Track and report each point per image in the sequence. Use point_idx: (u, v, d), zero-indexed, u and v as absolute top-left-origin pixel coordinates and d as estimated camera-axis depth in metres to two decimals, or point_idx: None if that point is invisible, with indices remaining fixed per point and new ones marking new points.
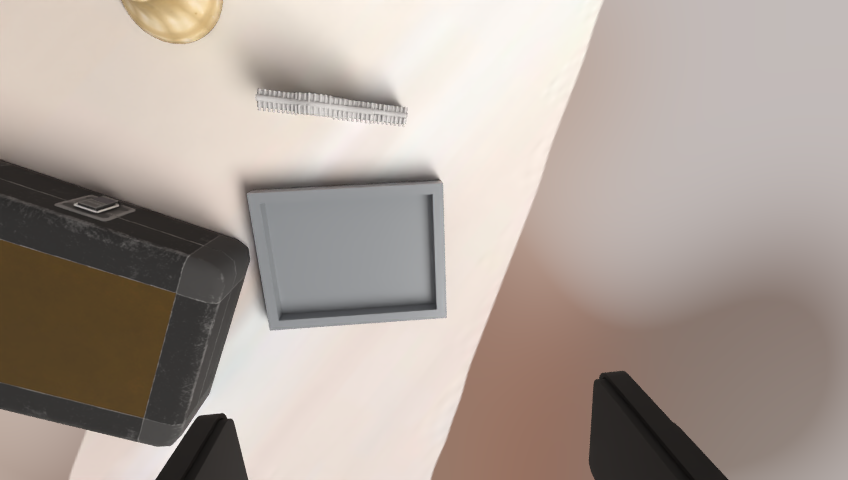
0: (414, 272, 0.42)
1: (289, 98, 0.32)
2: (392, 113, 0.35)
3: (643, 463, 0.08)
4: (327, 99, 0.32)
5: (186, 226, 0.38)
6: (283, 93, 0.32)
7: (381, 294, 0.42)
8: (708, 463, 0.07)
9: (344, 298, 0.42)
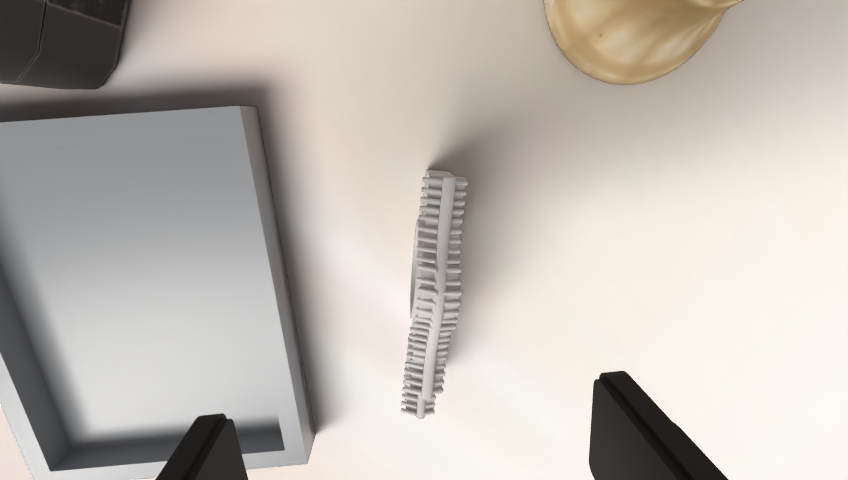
0: (130, 413, 0.22)
1: (448, 246, 0.15)
2: None
3: (643, 463, 0.08)
4: (448, 323, 0.16)
5: None
6: (458, 231, 0.15)
7: (67, 358, 0.20)
8: (708, 463, 0.07)
9: (37, 288, 0.19)
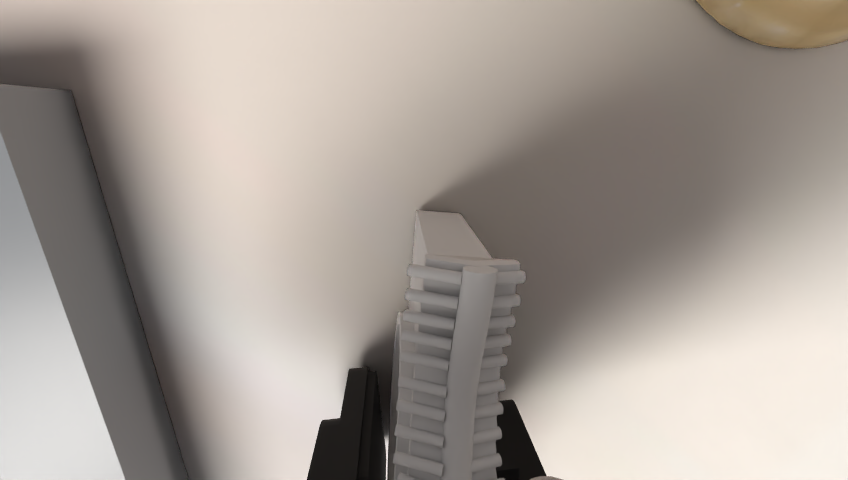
0: None
1: (474, 428, 0.06)
2: None
3: None
4: None
5: None
6: (495, 388, 0.06)
7: None
8: (504, 431, 0.08)
9: None
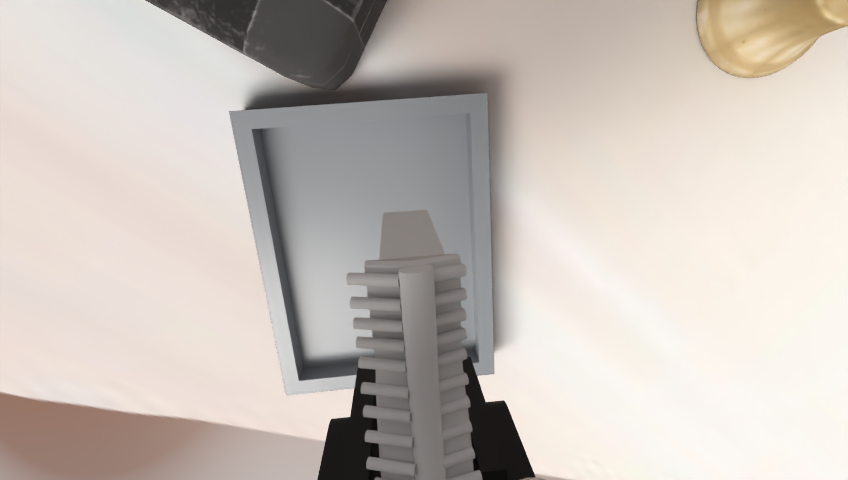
0: (353, 337, 0.27)
1: (441, 425, 0.06)
2: None
3: None
4: None
5: None
6: (459, 382, 0.06)
7: (313, 291, 0.26)
8: (493, 432, 0.08)
9: (300, 235, 0.25)
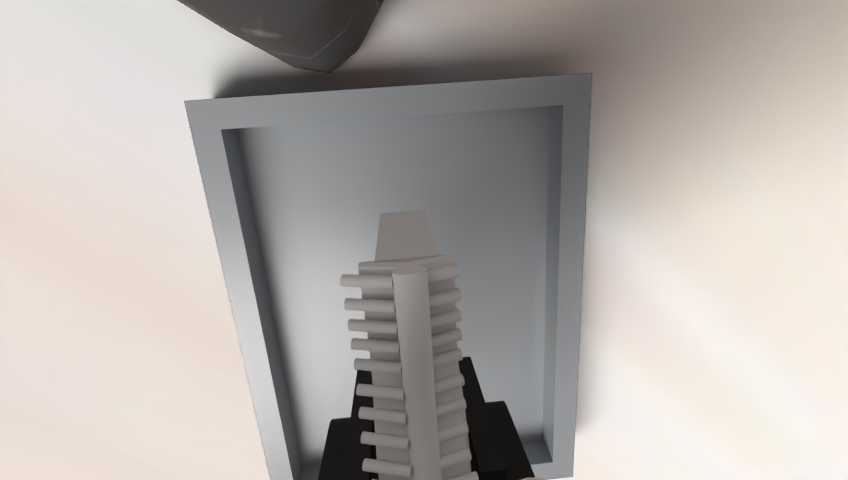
0: None
1: (437, 427, 0.06)
2: None
3: None
4: None
5: None
6: (455, 383, 0.06)
7: (316, 363, 0.18)
8: (493, 432, 0.08)
9: (298, 285, 0.17)
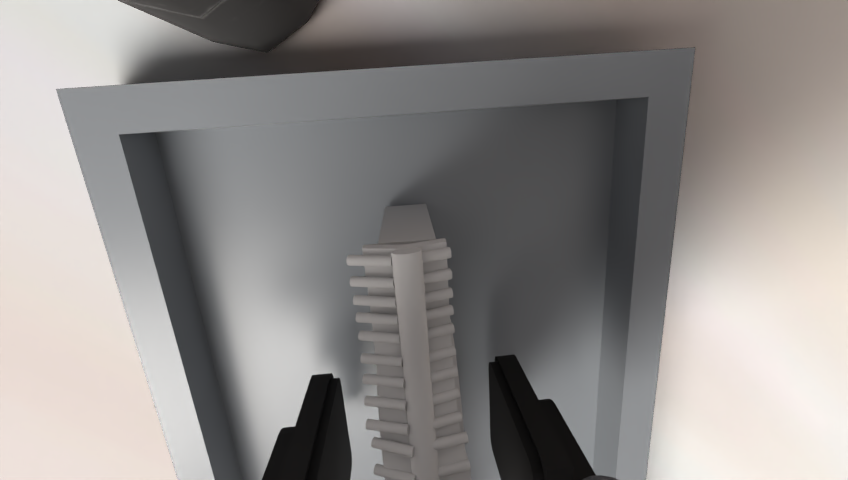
0: None
1: (432, 391, 0.07)
2: None
3: (510, 433, 0.09)
4: None
5: None
6: (447, 353, 0.07)
7: None
8: (552, 430, 0.08)
9: (256, 354, 0.12)
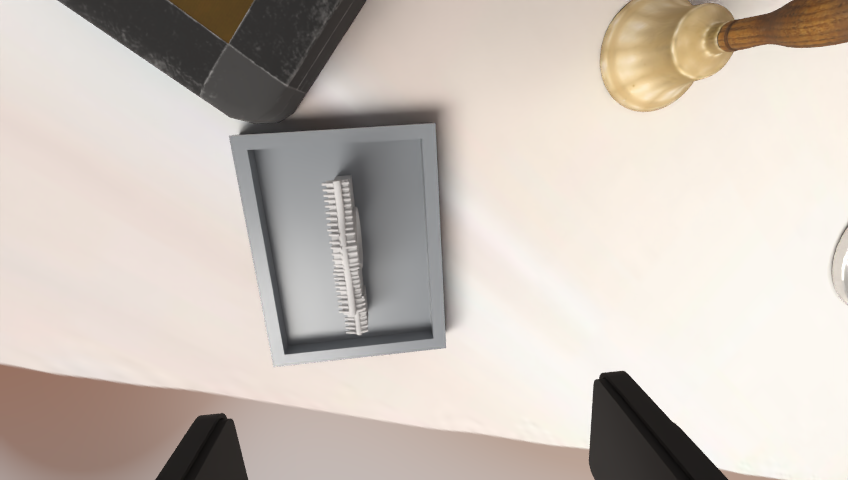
0: (330, 319, 0.33)
1: (345, 220, 0.26)
2: (357, 318, 0.30)
3: (643, 463, 0.08)
4: (354, 265, 0.26)
5: (328, 56, 0.27)
6: (349, 211, 0.26)
7: (296, 281, 0.32)
8: (708, 463, 0.07)
9: (286, 234, 0.31)
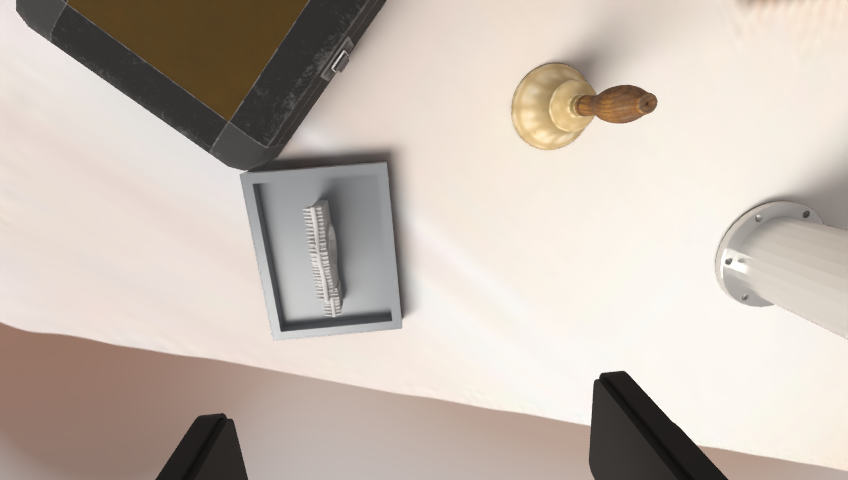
0: (315, 306, 0.44)
1: (319, 234, 0.37)
2: (333, 304, 0.41)
3: (643, 463, 0.08)
4: (326, 265, 0.37)
5: (301, 119, 0.38)
6: (322, 227, 0.37)
7: (289, 277, 0.43)
8: (708, 463, 0.07)
9: (281, 243, 0.42)
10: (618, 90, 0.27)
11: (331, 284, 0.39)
